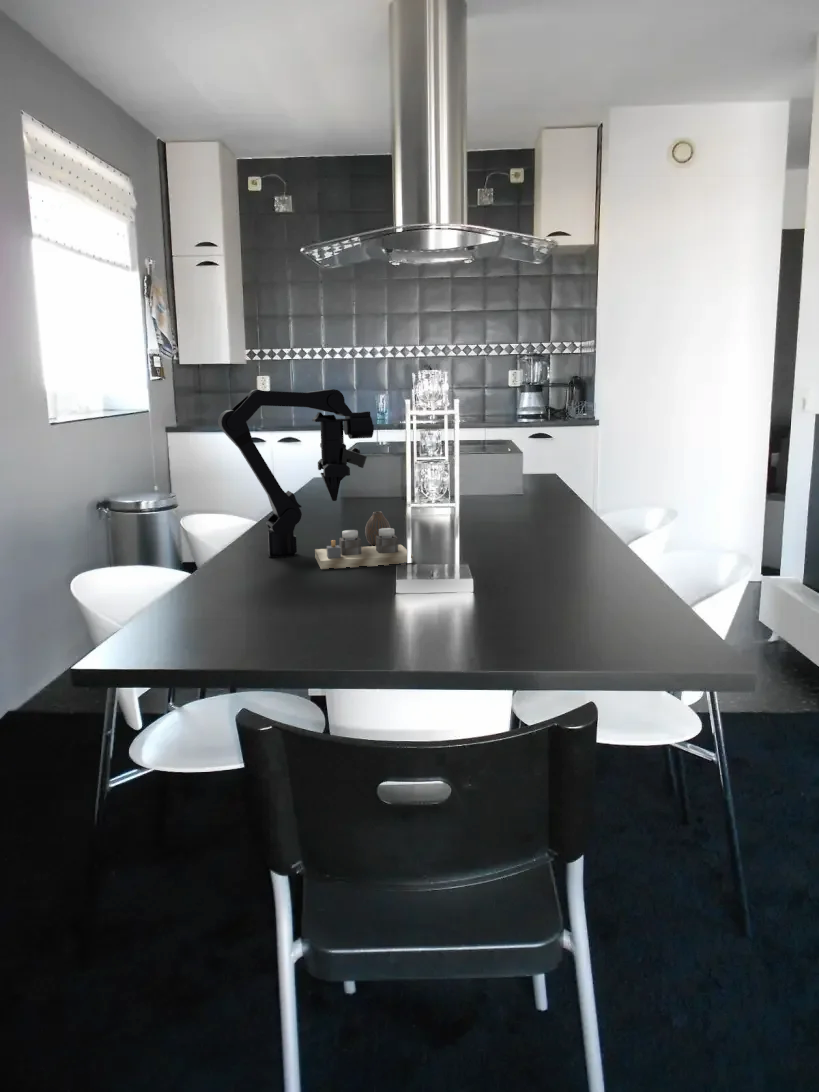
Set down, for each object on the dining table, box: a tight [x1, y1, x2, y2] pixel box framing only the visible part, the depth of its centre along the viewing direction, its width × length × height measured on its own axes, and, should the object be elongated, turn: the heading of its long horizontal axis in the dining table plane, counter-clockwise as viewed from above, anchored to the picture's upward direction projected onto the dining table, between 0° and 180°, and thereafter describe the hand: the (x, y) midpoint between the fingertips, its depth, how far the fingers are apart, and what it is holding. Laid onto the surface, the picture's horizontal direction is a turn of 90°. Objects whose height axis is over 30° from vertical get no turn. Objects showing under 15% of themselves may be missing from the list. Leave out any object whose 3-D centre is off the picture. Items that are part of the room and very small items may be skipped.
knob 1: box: [341, 529, 359, 540], centre depth 200 cm, size 4×4×5 cm
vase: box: [364, 511, 391, 546], centre depth 221 cm, size 7×7×9 cm
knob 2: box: [379, 527, 395, 538], centre depth 202 cm, size 4×4×5 cm
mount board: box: [314, 534, 414, 570], centre depth 201 cm, size 22×14×6 cm, turn 102°
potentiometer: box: [326, 539, 341, 559], centre depth 196 cm, size 3×3×4 cm
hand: (334, 500), depth 212 cm, fingers closed
